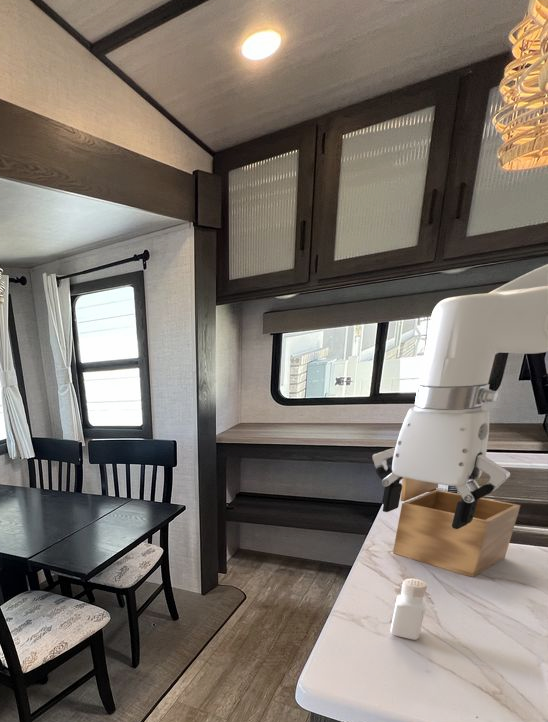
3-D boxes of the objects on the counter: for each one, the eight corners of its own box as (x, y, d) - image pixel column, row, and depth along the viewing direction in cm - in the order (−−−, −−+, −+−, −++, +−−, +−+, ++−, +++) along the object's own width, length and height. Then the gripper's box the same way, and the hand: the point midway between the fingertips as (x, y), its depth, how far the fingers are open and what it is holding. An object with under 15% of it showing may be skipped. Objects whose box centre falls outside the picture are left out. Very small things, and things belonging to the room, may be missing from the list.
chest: (504, 558, 98) (520, 505, 94) (472, 577, 92) (487, 521, 88) (425, 537, 111) (435, 489, 106) (392, 553, 105) (402, 503, 100)
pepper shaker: (419, 629, 79) (430, 579, 75) (417, 642, 76) (429, 590, 72) (391, 623, 81) (401, 575, 77) (389, 635, 78) (399, 585, 74)
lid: (446, 412, 100) (442, 412, 101) (411, 422, 94) (407, 422, 95) (438, 487, 105) (434, 487, 106) (404, 501, 100) (400, 501, 100)
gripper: (542, 398, 57) (504, 527, 64) (398, 392, 71) (379, 499, 78) (515, 406, 54) (477, 541, 61) (369, 399, 68) (352, 509, 75)
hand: (422, 517), depth 70 cm, fingers open, 9 cm apart
